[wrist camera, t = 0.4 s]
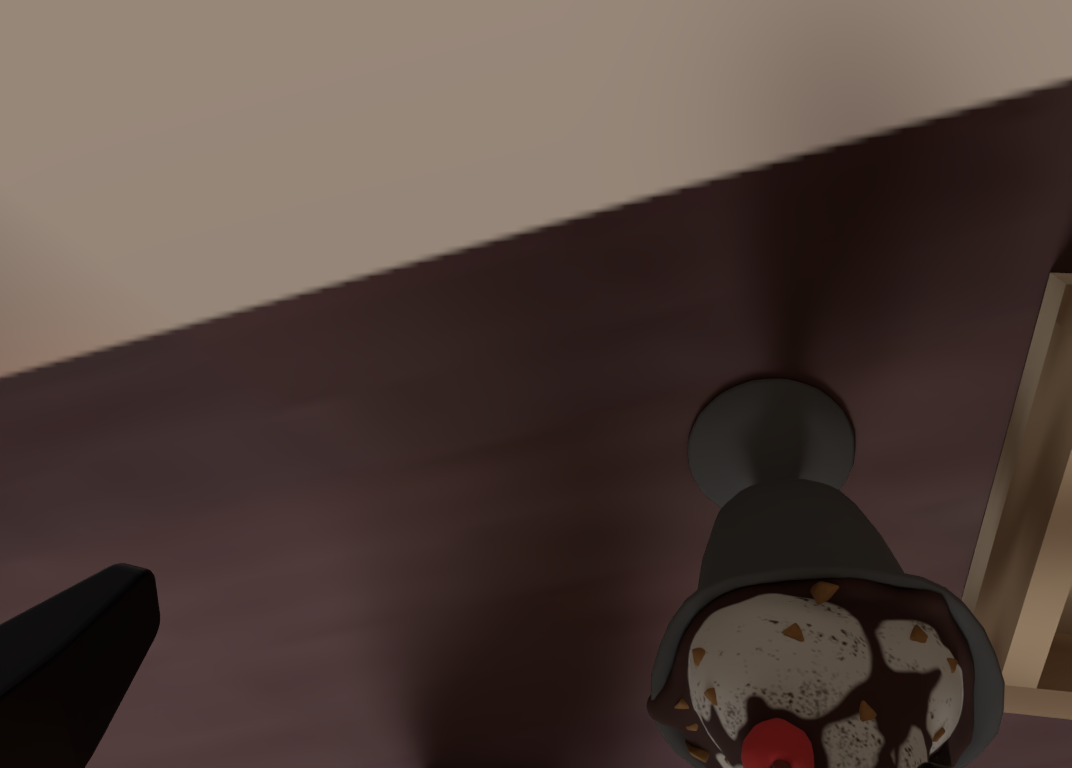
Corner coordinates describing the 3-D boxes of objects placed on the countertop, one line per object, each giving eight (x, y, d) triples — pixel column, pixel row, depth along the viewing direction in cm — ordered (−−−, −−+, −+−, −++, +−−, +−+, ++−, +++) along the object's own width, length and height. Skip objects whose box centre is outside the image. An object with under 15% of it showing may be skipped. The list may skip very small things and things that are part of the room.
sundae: (650, 356, 25) (617, 787, 11) (890, 344, 23) (1176, 814, 10) (662, 541, 27) (648, 1067, 14) (878, 539, 26) (1091, 1116, 13)
